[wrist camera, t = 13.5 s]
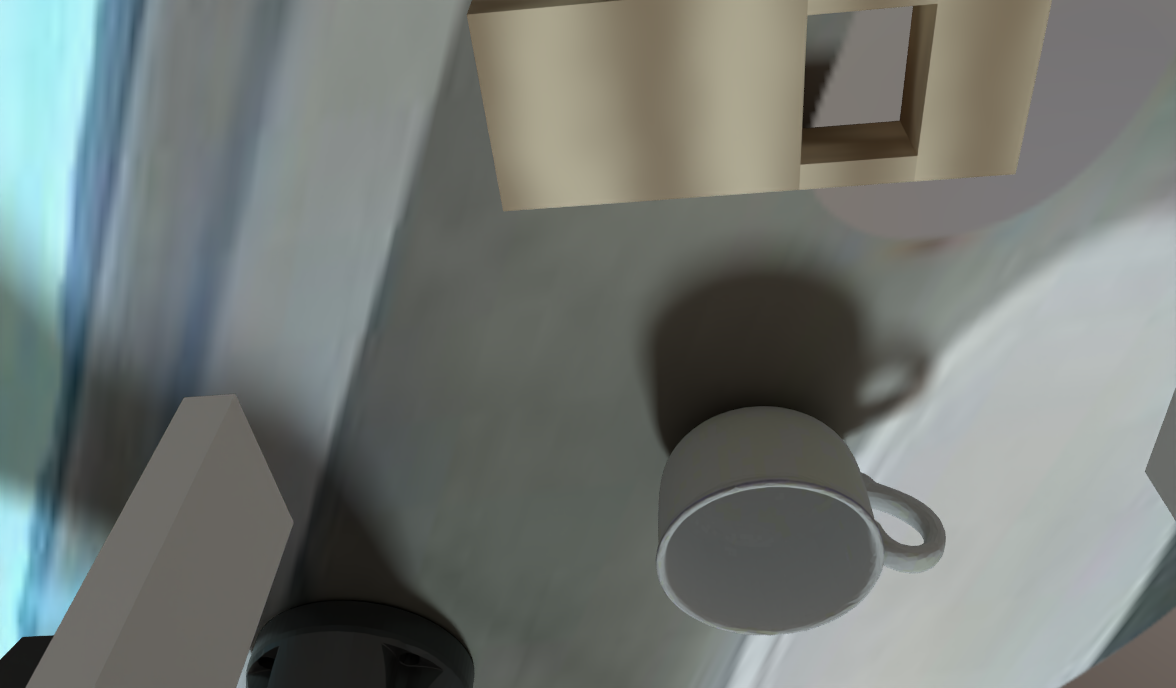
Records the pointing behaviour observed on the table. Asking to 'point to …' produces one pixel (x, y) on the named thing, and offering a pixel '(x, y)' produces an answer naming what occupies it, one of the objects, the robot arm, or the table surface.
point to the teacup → (777, 524)
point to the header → (736, 97)
